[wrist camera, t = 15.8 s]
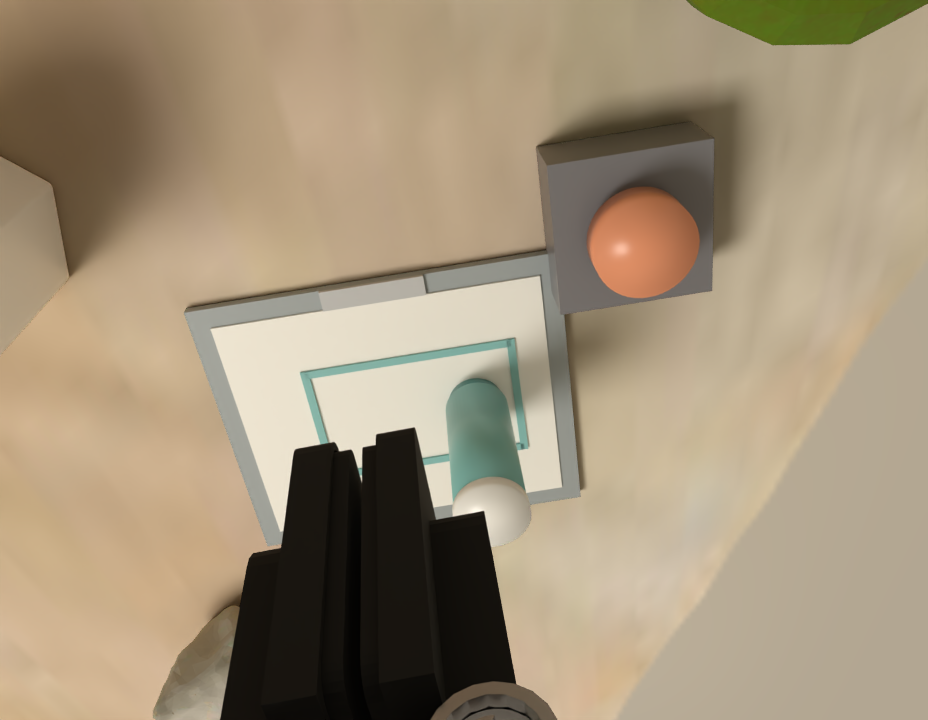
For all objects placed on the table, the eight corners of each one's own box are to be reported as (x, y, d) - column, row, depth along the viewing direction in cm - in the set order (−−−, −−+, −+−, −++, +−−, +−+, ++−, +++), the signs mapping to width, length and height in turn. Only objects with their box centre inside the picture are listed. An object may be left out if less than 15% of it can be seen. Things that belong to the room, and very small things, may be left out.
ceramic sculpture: (179, 681, 38) (451, 740, 44) (207, 550, 46) (437, 614, 51) (114, 801, 43) (369, 842, 48) (149, 665, 50) (367, 713, 55)
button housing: (550, 287, 39) (560, 315, 36) (536, 146, 36) (546, 165, 33) (691, 265, 39) (712, 290, 36) (691, 121, 36) (714, 138, 33)
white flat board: (268, 540, 46) (266, 549, 45) (186, 308, 38) (182, 315, 38) (578, 491, 46) (581, 499, 45) (556, 248, 38) (559, 254, 37)
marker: (449, 432, 42) (458, 552, 34) (439, 379, 41) (447, 492, 33) (510, 423, 42) (534, 540, 34) (503, 369, 40) (527, 480, 33)
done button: (576, 264, 38) (597, 305, 34) (569, 174, 36) (590, 207, 32) (668, 249, 38) (699, 289, 34) (667, 158, 36) (699, 189, 32)
